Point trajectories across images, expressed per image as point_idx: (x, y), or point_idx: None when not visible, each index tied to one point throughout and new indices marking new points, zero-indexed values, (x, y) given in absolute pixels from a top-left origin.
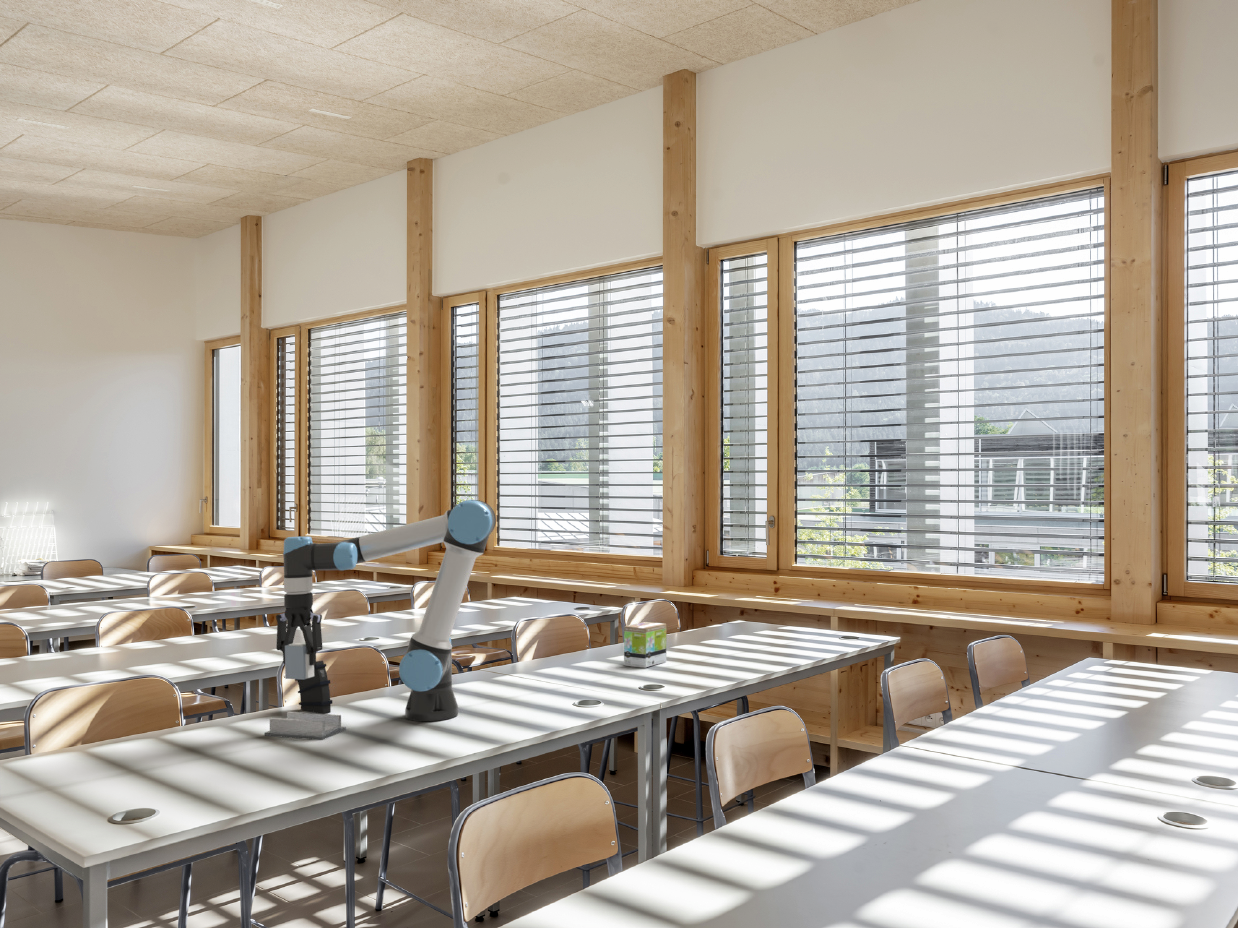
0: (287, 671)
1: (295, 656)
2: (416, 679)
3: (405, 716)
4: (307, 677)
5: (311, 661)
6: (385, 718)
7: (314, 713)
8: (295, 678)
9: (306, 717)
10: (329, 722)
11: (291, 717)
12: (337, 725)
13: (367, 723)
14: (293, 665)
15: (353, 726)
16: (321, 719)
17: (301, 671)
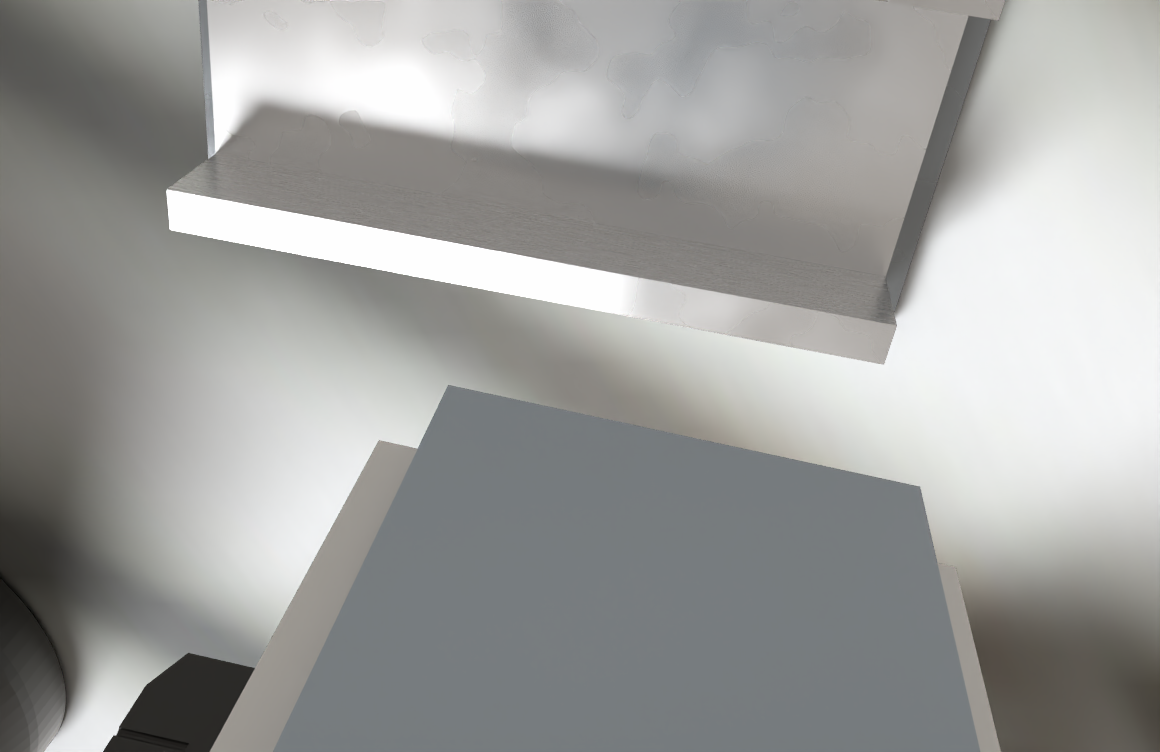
0: (878, 581)
1: None
2: None
3: (4, 589)
4: (392, 450)
5: (164, 734)
6: (147, 570)
7: (520, 288)
8: (656, 437)
9: (618, 253)
10: (325, 183)
11: (827, 285)
12: (219, 133)
13: (183, 427)
14: (688, 658)
15: (236, 328)
16: (417, 209)
17: (460, 500)
